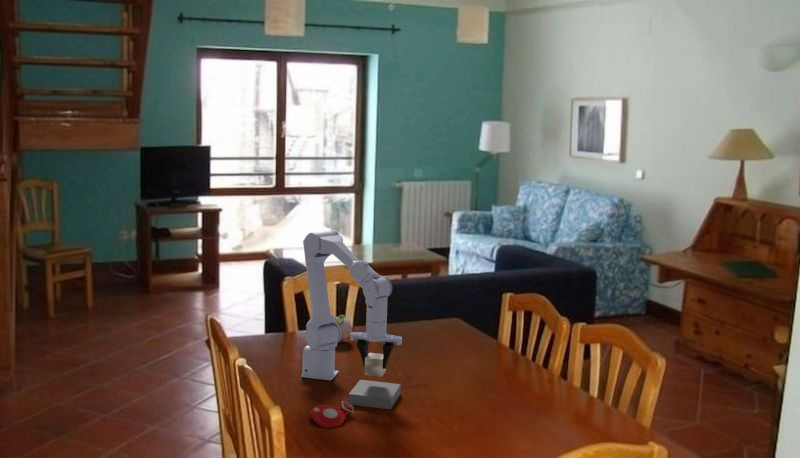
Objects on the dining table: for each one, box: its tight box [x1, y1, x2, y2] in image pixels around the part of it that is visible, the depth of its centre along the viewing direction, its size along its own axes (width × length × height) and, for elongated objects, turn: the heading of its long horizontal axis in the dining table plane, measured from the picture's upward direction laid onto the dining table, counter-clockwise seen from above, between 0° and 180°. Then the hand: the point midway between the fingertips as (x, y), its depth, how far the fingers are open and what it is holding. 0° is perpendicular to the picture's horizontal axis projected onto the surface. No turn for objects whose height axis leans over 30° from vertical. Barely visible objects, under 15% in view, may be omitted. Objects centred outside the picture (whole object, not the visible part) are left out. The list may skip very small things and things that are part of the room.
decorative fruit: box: [334, 314, 353, 343], centre depth 276 cm, size 9×8×10 cm
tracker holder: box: [307, 400, 355, 429], centre depth 210 cm, size 12×4×10 cm
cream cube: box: [364, 352, 387, 378], centre depth 227 cm, size 5×5×5 cm
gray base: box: [347, 379, 402, 410], centre depth 225 cm, size 12×12×3 cm
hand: (375, 366), depth 227 cm, fingers closed on cream cube, 5 cm apart
